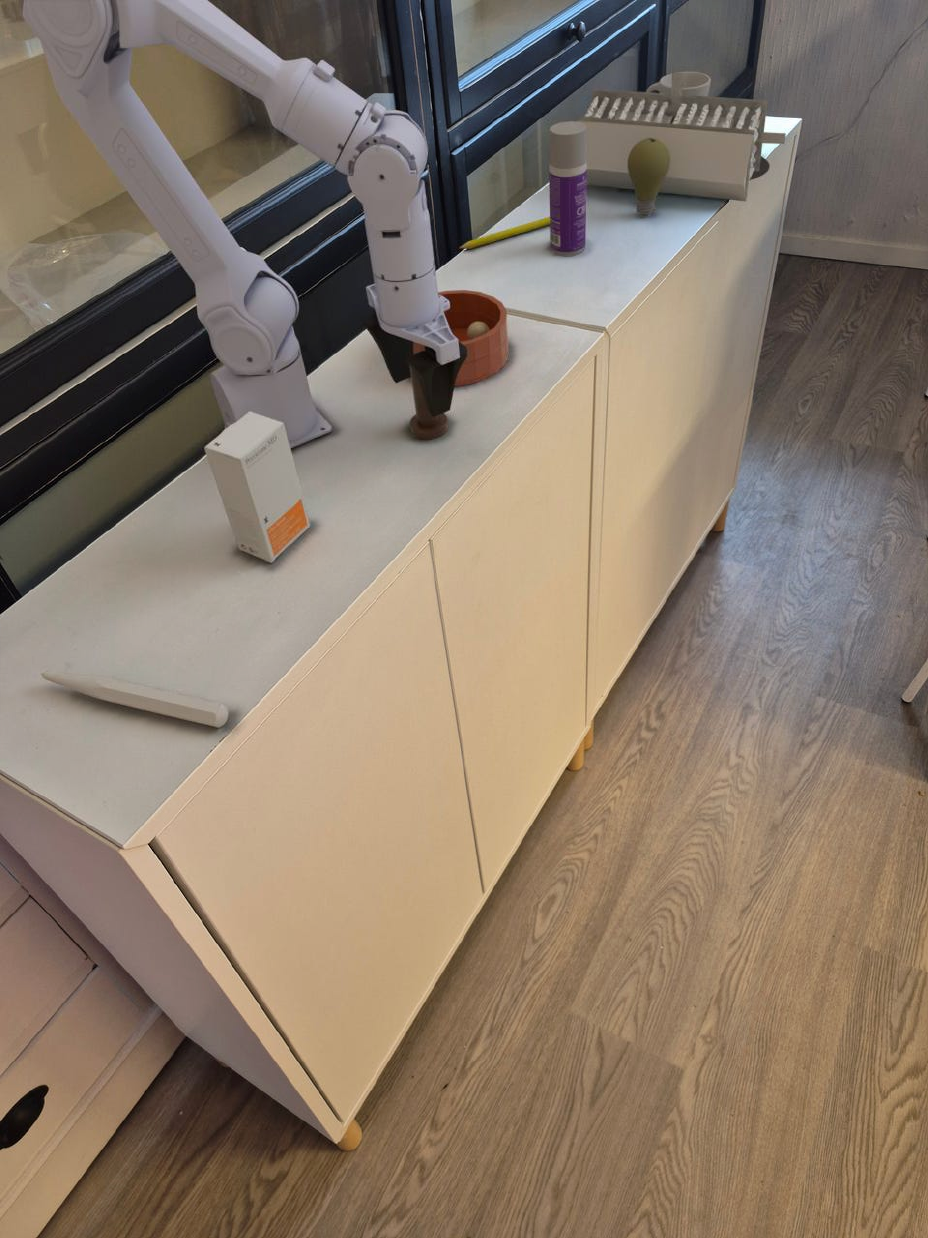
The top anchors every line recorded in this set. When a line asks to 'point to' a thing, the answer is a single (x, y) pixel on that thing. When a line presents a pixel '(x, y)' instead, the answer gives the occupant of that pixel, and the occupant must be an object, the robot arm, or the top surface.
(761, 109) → the miniature building
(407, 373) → the robot arm
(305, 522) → the cosmetic box
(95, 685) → the tool
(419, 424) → the pestle
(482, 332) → the bead
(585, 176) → the container
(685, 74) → the cup
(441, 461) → the top surface
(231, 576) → the top surface
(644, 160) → the light bulb
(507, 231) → the pencil
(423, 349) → the bowl
